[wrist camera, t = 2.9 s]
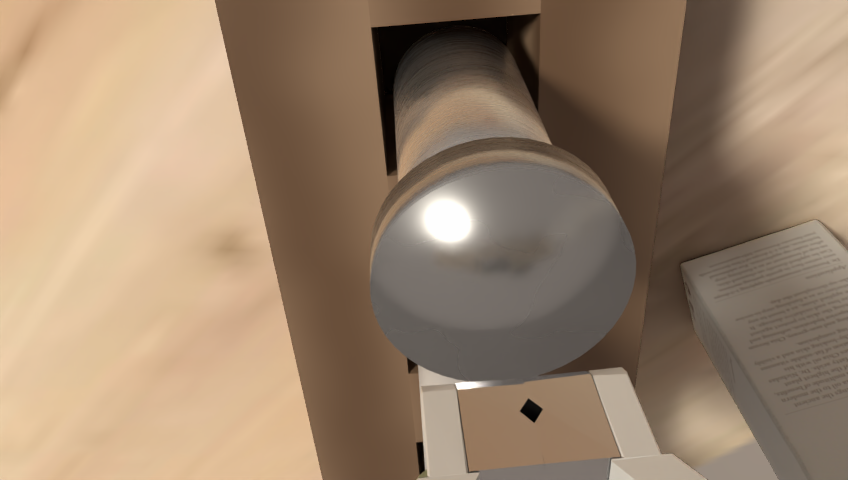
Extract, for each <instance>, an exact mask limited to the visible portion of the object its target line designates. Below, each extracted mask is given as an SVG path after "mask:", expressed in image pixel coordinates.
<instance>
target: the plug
mask: <svg viewBox="0 0 848 480" xmlns="http://www.w3.org/2000/svg"><path fill="white" fill-rule="evenodd" d="M393 97H394V116H395V135H396V154H397V173H398V183H397V184H396V185H395V187H394V188H393V189H392V190H391V191H390V193H389V194H388V196H387V197H386V199H385V201H384V202H383V204H382V205H381V208H380V210H379V212H378V214H377V217H376V219H375V223H374V226H373V230H372V235H371V244H370V296H371V302H372V307H373V311H374V314H375V317H376V319H377V321H378V324H379V326H380V327H381V329H382V331H383V332H384V334H385V336H386V337H387V338H388V339H389V341H390V342H391V343H392V344H393V345H394V347H395V348H397V349H398V350H399V351H400V352H401V353H402V354H403V355H404V356H406V357H407V358H409V359H410V360H411V361H413V362H414V363H416V364H418V365H419V366H421V367H423V368H425V369H427V370H429V371H432V372H434V373H437V374H440V375H442V376H446V377H449V378H453V379H457V380H463V381H470V382H477V381H491V380H505V379H519V378H524V377H533V376H538V375H541V374H544V373H547V372H550V371H553V370H555V369H557V368H559V367H562V366H564V365H566V364H568V363H569V362H571V361H573V360H575V359H577V358H578V357H580V356H581V355H583V354H584V353H585V352H587V351H588V350H590V349H591V348H592V347H593V346H595V345H596V344H597V343H598V342H599V341H600V340H601V339H603V338H604V336H605V335H606V334H607V333H608V332H609V331H610V330H611V329H612V328H613V326H614V325H615V323H616V322H617V321H618V319H619V318H620V316H621V315H622V313H623V311H624V309H625V307H626V305H627V304H628V301H629V299H630V296H631V293H632V290H633V286H634V281H635V276H636V257H635V249H634V245H633V242H632V239H631V235H630V233H629V231H628V229H627V227H626V225H625V223H624V221H623V219H622V217H621V215H620V213H619V211H618V210H617V208H616V206H615V204H614V202H613V200H612V198H611V196H610V194H609V192H608V190H607V188H606V186H605V185H604V184H603V182H602V181H601V180H600V178H599V177H598V176H597V174H596V173H595V172H594V171H593V170H592V169H591V168H590V167H589V166H588V165H587V164H585V163H584V162H582V161H581V160H580V159H578V158H577V157H576V156H574V155H572V154H570V153H569V152H567V151H565V150H563V149H561V148H559V147H556V146H553V145H552V143H551V141H550V139H549V137H548V134H547V132H546V130H545V127H544V125H543V123H542V121H541V118H540V116H539V114H538V112H537V109H536V107H535V105H534V102H533V100H532V98H531V96H530V93H529V91H528V89H527V87H526V84H525V82H524V80H523V77H522V75H521V73H520V71H519V68H518V66H517V64H516V62H515V59H514V58H513V56H512V54H511V52H510V51H509V50H508V48H507V47H506V46H505V45H504V44H503V43H502V42H501V41H500V40H499V39H498V38H496V37H495V36H494V35H492V34H490V33H488V32H486V31H484V30H481V29H479V28H475V27H470V26H449V27H444V28H440V29H437V30H434V31H432V32H430V33H428V34H426V35H424V36H423V37H421V38H420V39H418V40H417V41H416V42H414V43H413V44H412V45H411V46H410V48H409V49H408V50H407V51H406V52H405V54H404V55H403V57H402V58H401V60H400V62H399V64H398V67H397V69H396V72H395V76H394V83H393Z"/></svg>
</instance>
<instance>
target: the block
mask: <svg viewBox="0 0 848 480" xmlns="http://www.w3.org/2000/svg"><path fill="white" fill-rule="evenodd" d="M215 3H216V8H217V12H218V17H219V21H220V26H221V30H222V34H223V39H224V43H225V48H226V52H227V57H228V61H229V65H230V70H231V74H232V79H233V83H234V88H235V92H236V97H237V101H238V105H239V110H240V114H241V119H242V123H243V128H244V132H245V137H246V141H247V145H248V150H249V154H250V159H251V163H252V168H253V172H254V176H255V181H256V185H257V190H258V194H259V199H260V203H261V208H262V212H263V216H264V221H265V225H266V230H267V234H268V239H269V243H270V248H271V252H272V256H273V261H274V265H275V270H276V274H277V279H278V283H279V287H280V292H281V296H282V301H283V305H284V310H285V314H286V319H287V323H288V327H289V332H290V336H291V341H292V345H293V350H294V354H295V359H296V363H297V367H298V372H299V376H300V381H301V385H302V390H303V394H304V399H305V403H306V407H307V412H308V416H309V421H310V425H311V430H312V434H313V438H314V443H315V447H316V452H317V456H318V461H319V465H320V470H321V474H322V478H323V480H416V479H417V478H418V477H419V475H420V474H422V473H423V472H424V471H425V460H424V446H423V431H422V417H421V402H420V388H419V373H418V364H416V363H414V362H413V361H411V360H410V359H409V358H407V357H406V356H404V355H403V354H402V353H401V352H400V351H399V350H398V349H397V348H395V347H394V345H393V344H392V343H391V342H390V341H389V339H388V338H387V337H386V336H385V334H384V332H383V331H382V329H381V327H380V326H379V324H378V321H377V319H376V317H375V314H374V311H373V307H372V302H371V296H370V244H371V235H372V230H373V226H374V223H375V219H376V217H377V214H378V212H379V210H380V208H381V205H382V204H383V202H384V201H385V199H386V197H387V196H388V194H389V193H390V191H391V190H392V189H393V188H394V187H395V185H396V184H397V183H398V173H397V154H396V135H395V116H394V97H393V94H388V95H385V92H384V82H383V73H382V63H381V53H380V44H379V34H378V27H382V26H394V25H406V24H418V23H430V22H442V21H454V20H466V19H478V18H490V17H502V16H506V23H507V48H508V50H509V51H510V52H511V54H512V56H513V58H514V59H515V62H516V64H517V66H518V68H519V71H520V73H521V75H522V77H523V80H524V82H525V84H526V87H527V89H528V91H529V93H530V96H531V98H532V100H533V102H534V105H535V107H536V109H537V112H538V114H539V116H540V118H541V121H542V123H543V125H544V127H545V130H546V132H547V134H548V137H549V139H550V141H551V143H552V145H553V146H556V147H559V148H561V149H563V150H565V151H567V152H569V153H570V154H572V155H574V156H576V157H577V158H578V159H580V160H581V161H582V162H584V163H585V164H587V165H588V166H589V167H590V168H591V169H592V170H593V171H594V172H595V173H596V174H597V176H598V177H599V178H600V180H601V181H602V182H603V184H604V185H605V186H606V188H607V190H608V192H609V194H610V196H611V198H612V200H613V202H614V204H615V206H616V208H617V210H618V211H619V213H620V215H621V217H622V219H623V221H624V223H625V225H626V227H627V229H628V231H629V233H630V235H631V239H632V242H633V245H634V249H635V257H636V276H635V281H634V286H633V290H632V293H631V296H630V299H629V301H628V304H627V305H626V307H625V309H624V311H623V313H622V315H621V316H620V318H619V319H618V321H617V322H616V323H615V325H614V326H613V328H612V329H611V330H610V331H609V332H608V333H607V334H606V335H605V336H604V338H603V339H601V340H600V341H599V342H598V343H597V344H596V345H595V346H593V347H592V348H591V349H590V350H588V351H587V352H585V353H584V354H583V355H581V356H580V357H578V358H577V359H575V360H573V361H571V362H569V363H568V364H566V365H564V366H562V367H559V368H557V369H555V370H553V371H550V372H547V373H544V374H541V375H538V376H542V375H552V374H561V373H571V372H580V371H587V372H588V371H590V370H599V369H609V368H618V367H622V368H623V369H624V370H625V371H627V373H628V376H629V378H630V380H631V383H632V385H633V387H634V390H635V383H636V375H637V368H638V360H639V353H640V345H641V338H642V330H643V323H644V315H645V308H646V301H647V293H648V286H649V278H650V271H651V263H652V256H653V248H654V241H655V234H656V226H657V219H658V211H659V204H660V196H661V189H662V181H663V174H664V167H665V159H666V152H667V144H668V137H669V129H670V122H671V114H672V107H673V100H674V92H675V85H676V77H677V70H678V62H679V55H680V47H681V40H682V32H683V25H684V18H685V10H686V3H687V0H215Z"/></svg>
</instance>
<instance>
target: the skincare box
mask: <svg viewBox="0 0 848 480" xmlns="http://www.w3.org/2000/svg"><path fill="white" fill-rule="evenodd" d="M680 267H681V272H682V276H683V281H684V286H685V291H686V295H687V300H688V304H689V308H690V312H691V317H692V322H693V328H694V330H695V332H696V334H697V336H698V338H699V340H700V341H701V343H702V345H703V346H704V348H705V350H706V352H707V354H708V355H709V357H710V359H711V361H712V363H713V364H714V366H715V368H716V370H717V372H718V373H719V375H720V377H721V379H722V380H723V382H724V384H725V386H726V387H727V389H728V391H729V393H730V394H731V396H732V398H733V400H734V402H735V403H736V405H737V407H738V409H739V410H740V412H741V414H742V416H743V417H744V419H745V421H746V423H747V424H748V426H749V428H750V430H751V432H752V433H753V435H754V437H755V439H756V440H757V442H758V444H759V445H760V447H761V449H762V451H763V453H764V454H765V456H766V458H767V460H768V461H769V463H770V465H771V467H772V468H773V470H774V472H775V474H776V476H777V478H778V479H779V480H848V250H847V249H846V248H845V247H844V246H843V245H842V244H841V243H840V242H839V241H838V240H837V239H836V238H835V237H834V236H833V235H832V233H831V232H830V231H829V230H828V229H827V228H826V227H825V226H824V225H823V224H822V223H821V222H819V221H818V220H812V221H809V222H806V223H803V224H800V225H797V226H794V227H791V228H788V229H785V230H782V231H779V232H776V233H773V234H770V235H767V236H764V237H761V238H758V239H755V240H752V241H749V242H745V243H742V244H739V245H736V246H733V247H730V248H727V249H724V250H721V251H718V252H715V253H712V254H709V255H706V256H703V257H700V258H697V259H694V260H690V261H687V262H684V263H682V264H681V266H680Z"/></svg>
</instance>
